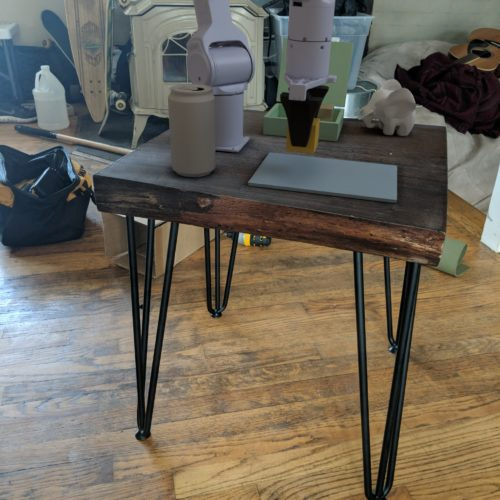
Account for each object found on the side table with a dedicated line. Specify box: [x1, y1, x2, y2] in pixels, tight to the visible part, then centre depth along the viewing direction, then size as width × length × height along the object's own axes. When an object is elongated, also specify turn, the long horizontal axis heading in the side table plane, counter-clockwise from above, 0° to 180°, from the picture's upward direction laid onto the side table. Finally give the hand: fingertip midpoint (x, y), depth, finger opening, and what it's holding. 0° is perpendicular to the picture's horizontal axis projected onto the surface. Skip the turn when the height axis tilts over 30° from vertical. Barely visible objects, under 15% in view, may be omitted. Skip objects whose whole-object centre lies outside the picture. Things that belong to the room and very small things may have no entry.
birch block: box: [317, 103, 335, 122], centre depth 95 cm, size 4×4×4 cm
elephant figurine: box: [354, 78, 423, 137], centre depth 95 cm, size 10×12×9 cm
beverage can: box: [167, 83, 216, 178], centre depth 73 cm, size 6×6×12 cm
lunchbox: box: [262, 102, 345, 142], centre depth 96 cm, size 11×13×3 cm
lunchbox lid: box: [276, 38, 355, 108], centre depth 101 cm, size 12×13×3 cm
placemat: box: [247, 151, 398, 204], centre depth 75 cm, size 20×14×1 cm
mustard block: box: [285, 118, 320, 155], centre depth 73 cm, size 4×4×4 cm
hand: (301, 141), depth 74 cm, fingers closed on mustard block, 4 cm apart
